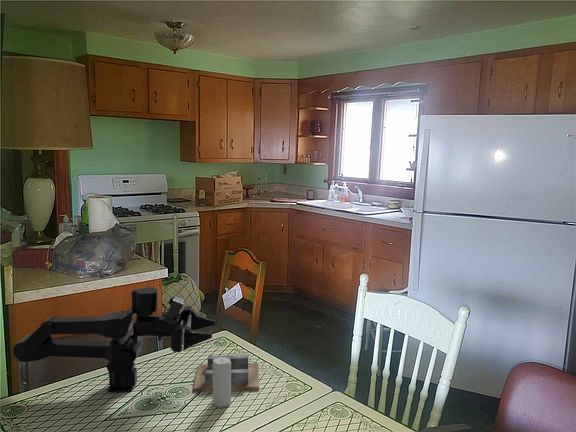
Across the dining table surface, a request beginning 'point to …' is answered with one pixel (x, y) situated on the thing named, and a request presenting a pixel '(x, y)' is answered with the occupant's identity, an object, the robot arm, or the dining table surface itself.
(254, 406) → the dining table surface
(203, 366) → the vise
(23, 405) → the dining table surface
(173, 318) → the robot arm
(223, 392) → the beverage can
